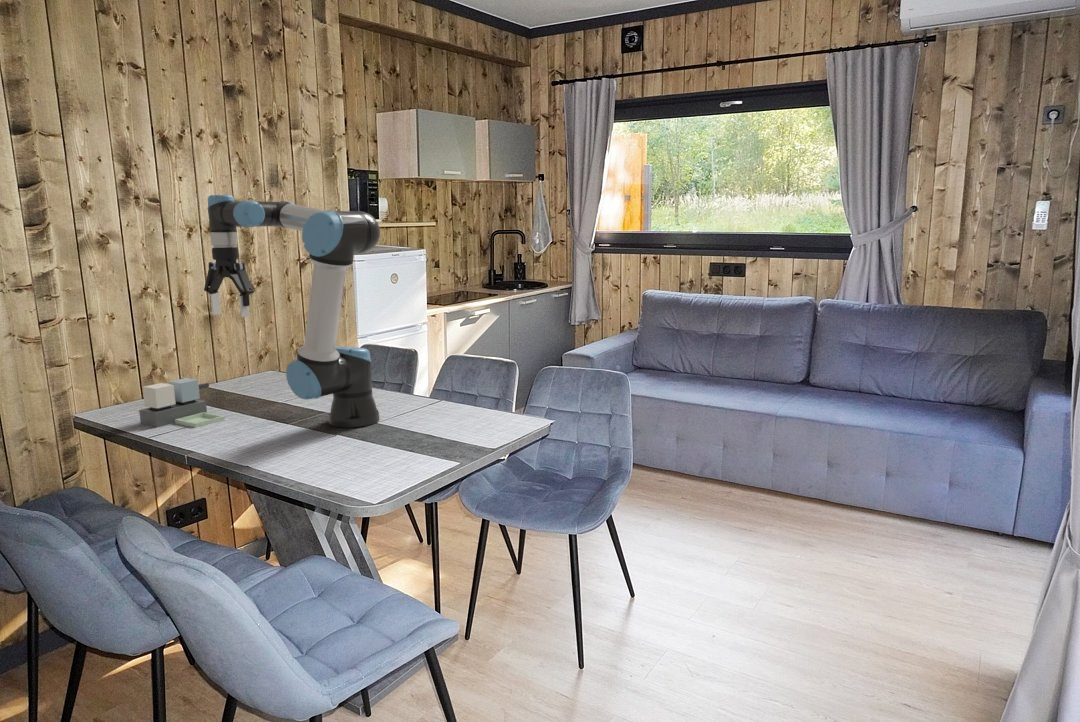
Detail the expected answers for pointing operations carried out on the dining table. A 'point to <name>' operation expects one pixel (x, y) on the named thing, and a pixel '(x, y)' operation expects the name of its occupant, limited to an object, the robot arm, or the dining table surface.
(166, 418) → the strip
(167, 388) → the plug
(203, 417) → the tray
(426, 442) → the dining table surface
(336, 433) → the dining table surface
